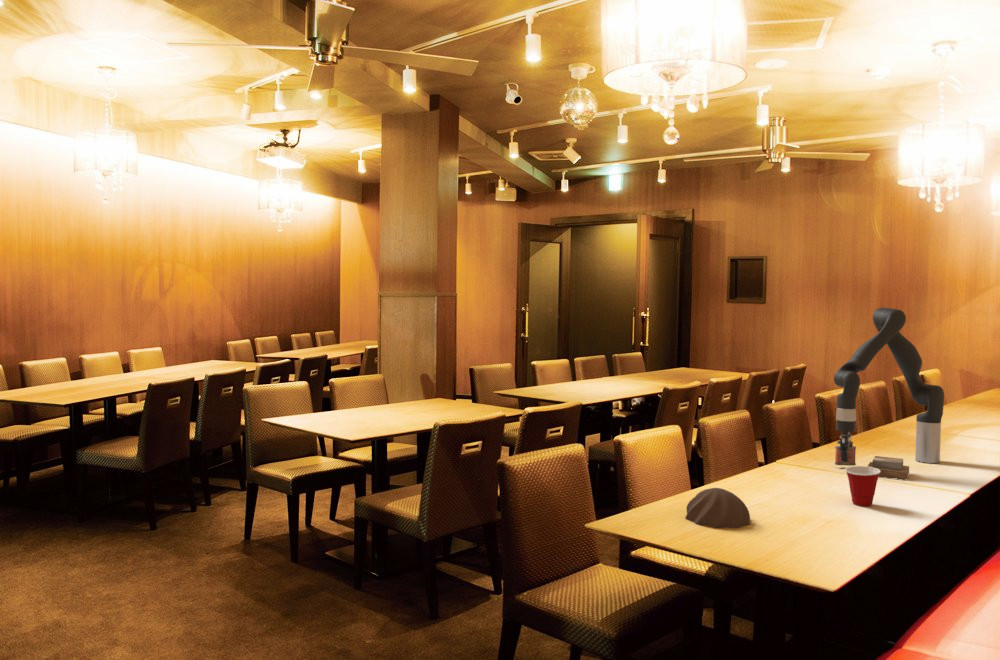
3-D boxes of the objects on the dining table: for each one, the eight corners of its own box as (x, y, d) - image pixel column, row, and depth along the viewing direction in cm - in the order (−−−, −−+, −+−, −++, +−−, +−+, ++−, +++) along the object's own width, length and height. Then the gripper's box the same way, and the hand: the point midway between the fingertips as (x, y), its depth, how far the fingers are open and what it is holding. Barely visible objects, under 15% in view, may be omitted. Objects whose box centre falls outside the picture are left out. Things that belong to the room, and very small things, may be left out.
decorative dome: (705, 531, 218) (706, 497, 218) (674, 513, 237) (674, 481, 237) (763, 527, 223) (764, 494, 222) (728, 509, 242) (728, 479, 242)
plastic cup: (836, 501, 252) (837, 466, 252) (860, 499, 256) (861, 464, 256) (862, 510, 242) (863, 473, 242) (887, 507, 246) (888, 471, 246)
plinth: (870, 469, 304) (870, 454, 304) (909, 473, 297) (909, 458, 297) (866, 475, 293) (866, 460, 292) (906, 480, 285) (906, 464, 285)
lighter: (853, 463, 307) (854, 439, 307) (856, 465, 304) (857, 441, 304) (833, 463, 308) (834, 439, 308) (836, 465, 305) (836, 441, 304)
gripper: (853, 422, 297) (852, 464, 298) (858, 417, 309) (857, 458, 310) (833, 420, 301) (832, 462, 302) (838, 416, 313) (838, 456, 314)
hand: (845, 460), depth 306 cm, fingers closed on lighter, 4 cm apart
